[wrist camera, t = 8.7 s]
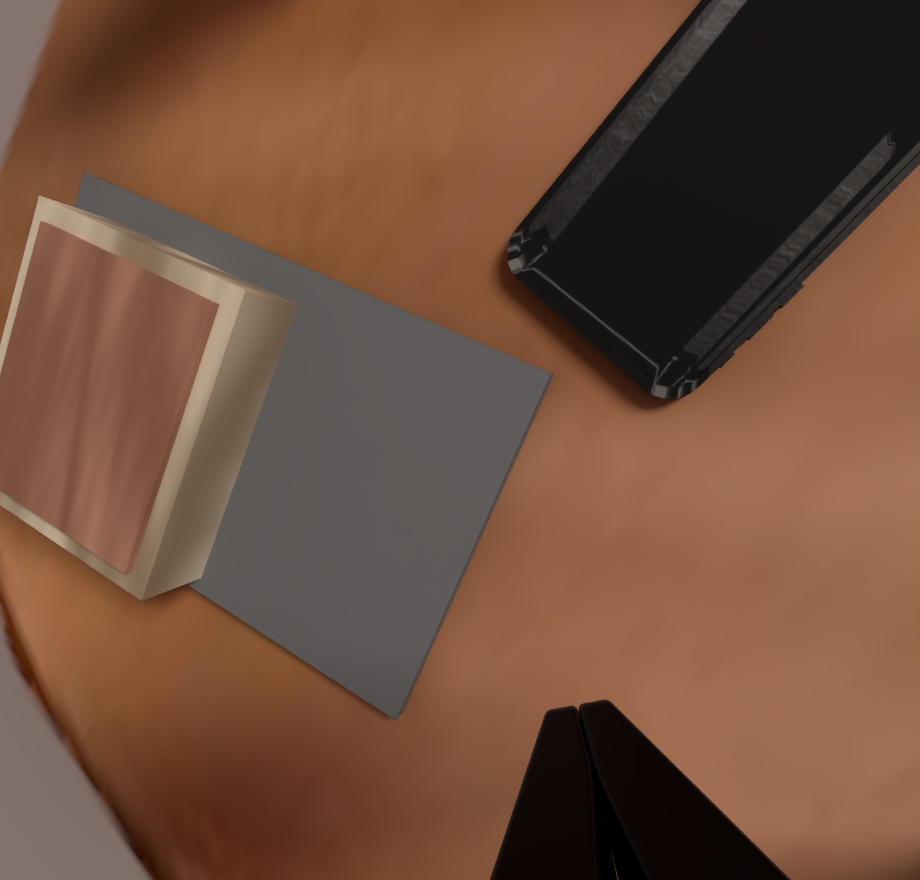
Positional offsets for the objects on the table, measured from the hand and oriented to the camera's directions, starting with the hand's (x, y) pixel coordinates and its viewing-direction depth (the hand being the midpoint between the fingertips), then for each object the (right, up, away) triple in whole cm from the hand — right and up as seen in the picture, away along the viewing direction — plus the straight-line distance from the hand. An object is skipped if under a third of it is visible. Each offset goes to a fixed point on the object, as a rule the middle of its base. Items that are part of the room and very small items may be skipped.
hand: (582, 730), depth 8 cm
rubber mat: (-11, +4, +16) cm, 20 cm away
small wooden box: (-11, +3, +14) cm, 18 cm away
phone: (+7, +13, +10) cm, 18 cm away
